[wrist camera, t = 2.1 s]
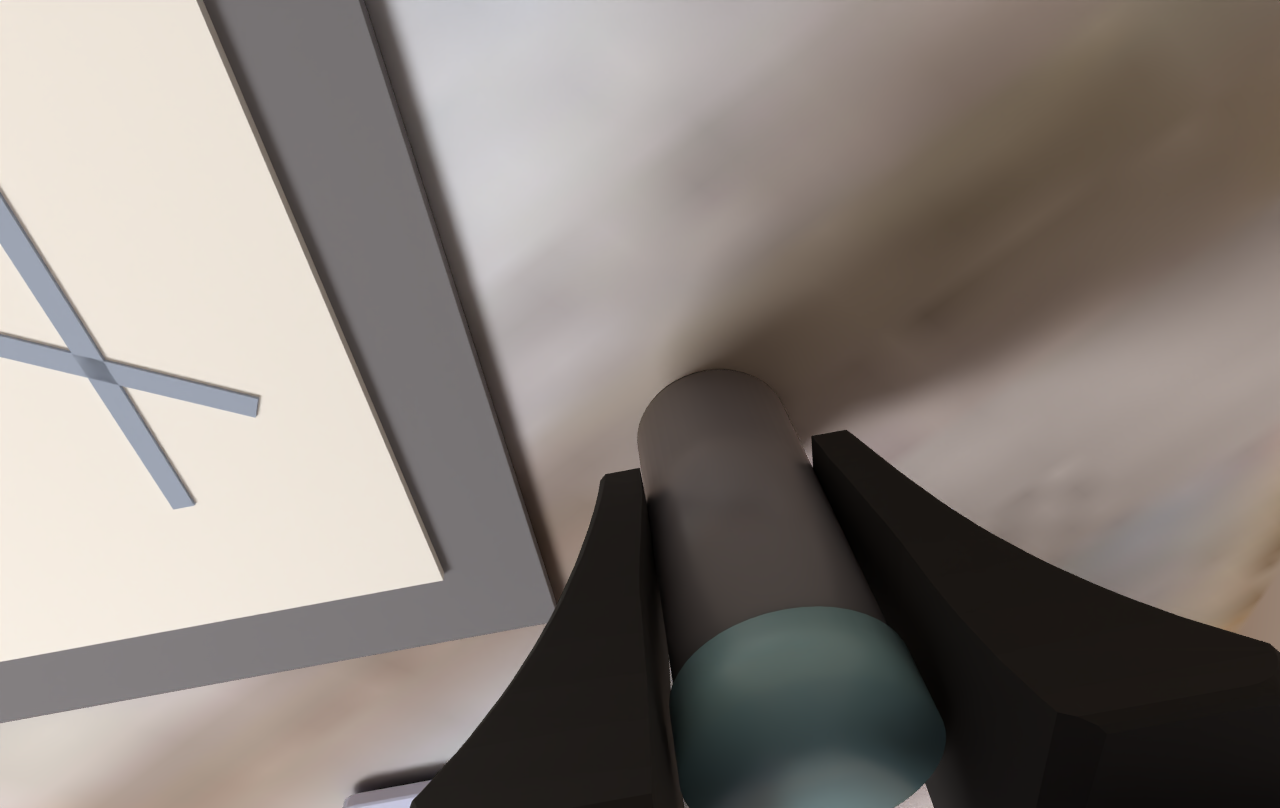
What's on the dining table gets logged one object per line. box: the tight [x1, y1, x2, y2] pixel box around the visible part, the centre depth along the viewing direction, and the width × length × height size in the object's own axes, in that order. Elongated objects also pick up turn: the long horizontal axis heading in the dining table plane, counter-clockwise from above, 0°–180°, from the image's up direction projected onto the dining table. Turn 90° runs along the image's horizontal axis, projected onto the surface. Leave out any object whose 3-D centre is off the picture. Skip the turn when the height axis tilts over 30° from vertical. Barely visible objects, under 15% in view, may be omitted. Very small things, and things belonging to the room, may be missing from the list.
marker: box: [637, 370, 946, 808], centre depth 12 cm, size 3×3×7 cm
